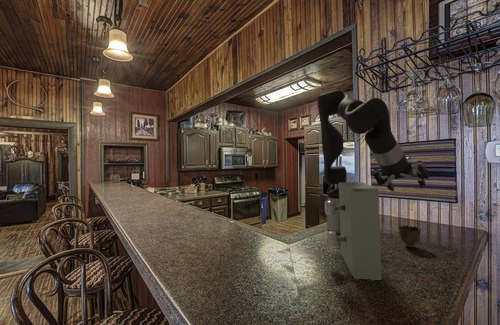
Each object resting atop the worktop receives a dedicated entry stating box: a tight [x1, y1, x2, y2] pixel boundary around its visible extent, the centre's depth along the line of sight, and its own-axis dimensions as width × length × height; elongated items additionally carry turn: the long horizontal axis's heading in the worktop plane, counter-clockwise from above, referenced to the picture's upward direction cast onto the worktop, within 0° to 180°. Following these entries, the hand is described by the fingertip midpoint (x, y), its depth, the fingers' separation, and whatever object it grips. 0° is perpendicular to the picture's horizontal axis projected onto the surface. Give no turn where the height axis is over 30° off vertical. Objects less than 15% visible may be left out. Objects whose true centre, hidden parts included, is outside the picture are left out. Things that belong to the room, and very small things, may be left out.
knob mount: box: [338, 181, 382, 281], centre depth 80 cm, size 8×20×28 cm, turn 168°
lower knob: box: [325, 230, 346, 247], centre depth 82 cm, size 7×5×5 cm
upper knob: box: [324, 200, 345, 216], centre depth 82 cm, size 7×5×5 cm
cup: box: [398, 225, 422, 249], centre depth 95 cm, size 8×7×8 cm
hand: (406, 187), depth 78 cm, fingers open, 8 cm apart
